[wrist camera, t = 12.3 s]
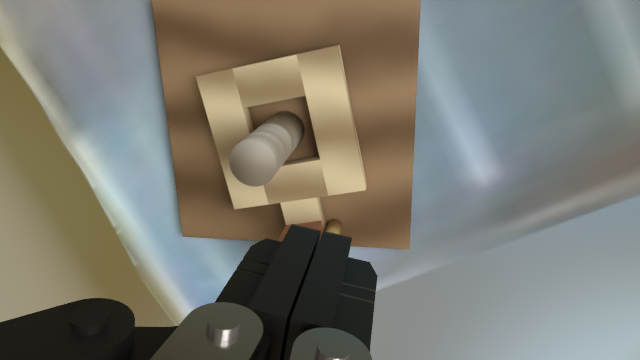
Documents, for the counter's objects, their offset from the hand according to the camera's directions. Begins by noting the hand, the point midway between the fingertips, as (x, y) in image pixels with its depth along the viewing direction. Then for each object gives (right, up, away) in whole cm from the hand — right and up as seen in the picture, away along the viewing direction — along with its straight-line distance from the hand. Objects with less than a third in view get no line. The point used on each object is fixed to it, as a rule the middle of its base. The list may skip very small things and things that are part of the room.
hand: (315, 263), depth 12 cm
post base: (-2, +6, +27) cm, 28 cm away
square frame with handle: (-2, +4, +27) cm, 27 cm away
